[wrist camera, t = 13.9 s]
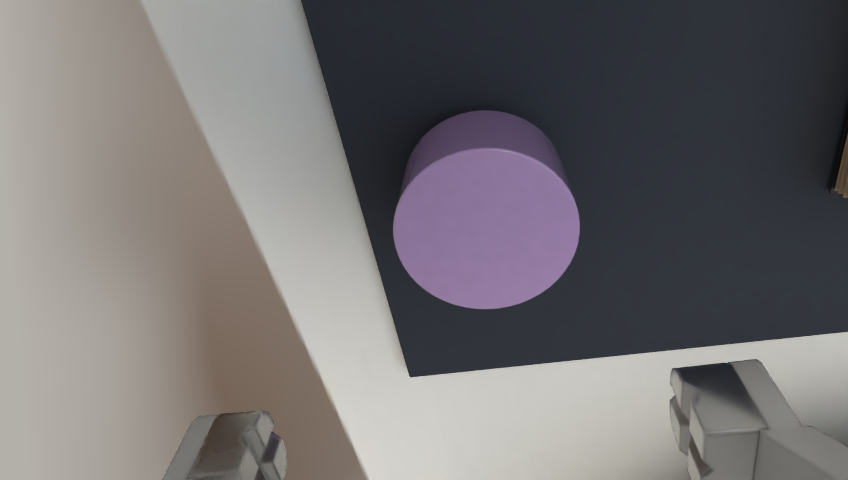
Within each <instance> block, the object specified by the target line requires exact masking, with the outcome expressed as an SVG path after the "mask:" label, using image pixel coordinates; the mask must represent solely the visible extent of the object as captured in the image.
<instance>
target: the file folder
mask: <svg viewBox="0 0 848 480" xmlns="http://www.w3.org/2000/svg"><path fill="white" fill-rule="evenodd" d="M839 193H841V194H844V195H843V198H848V112H847V117H846V121H845V125H844V130H843V134H842V139H841V143H840V147H839V152H838V156H837V160H836V165H835V169H834V174H833V178H832V182H831V187H830V191H829V194H839Z"/></svg>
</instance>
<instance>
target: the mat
mask: <svg viewBox="0 0 848 480" xmlns="http://www.w3.org/2000/svg"><path fill="white" fill-rule="evenodd" d="M301 1H302V5H303V8H304V12H305V15H306V19H307V22H308V26H309V29H310V32H311V36H312V39H313V43H314V46H315V50H316V53H317V57H318V60H319V64H320V67H321V71H322V74H323V78H324V81H325V85H326V88H327V91H328V95H329V98H330V102H331V105H332V109H333V112H334V116H335V119H336V123H337V126H338V130H339V133H340V137H341V140H342V144H343V147H344V150H345V154H346V157H347V161H348V164H349V168H350V171H351V175H352V178H353V182H354V185H355V189H356V192H357V196H358V199H359V202H360V206H361V209H362V213H363V216H364V220H365V223H366V227H367V230H368V234H369V237H370V241H371V244H372V248H373V251H374V255H375V258H376V261H377V265H378V268H379V272H380V275H381V279H382V282H383V286H384V289H385V293H386V296H387V300H388V303H389V307H390V310H391V314H392V317H393V320H394V324H395V327H396V331H397V334H398V338H399V341H400V345H401V348H402V352H403V355H404V359H405V362H406V366H407V369H408V373H409V376H410V377H417V376H427V375H437V374H446V373H456V372H465V371H475V370H485V369H494V368H504V367H513V366H523V365H533V364H542V363H552V362H561V361H571V360H581V359H590V358H600V357H609V356H619V355H629V354H638V353H648V352H657V351H667V350H676V349H686V348H696V347H705V346H715V345H724V344H734V343H744V342H753V341H763V340H772V339H782V338H792V337H801V336H811V335H820V334H830V333H840V332H848V198H843V195H844V194H841V193H839V194H829V191H830V187H831V182H832V178H833V174H834V169H835V165H836V160H837V156H838V152H839V147H840V143H841V139H842V134H843V130H844V125H845V121H846V117H847V112H848V0H301ZM480 110H490V111H499V112H505V113H509V114H512V115H515V116H518V117H520V118H523V119H525V120H527V121H528V122H530V123H532V124H533V125H535V126H536V127H537V128H538V129H540V130H541V131H542V132H543V133H544V134H545V135H546V136H547V137H548V138H549V139H550V141H551V142H552V144H553V145H554V146H555V148H556V150H557V152H558V154H559V156H560V158H561V161H562V164H563V167H564V170H565V173H566V176H567V179H568V182H569V185H570V187H571V190H572V193H573V196H574V199H575V202H576V205H577V208H578V212H579V219H580V235H579V242H578V245H577V248H576V252H575V254H574V256H573V258H572V261H571V263H570V264H569V266H568V267H567V269H566V270H565V272H564V273H563V274H562V275H561V276H560V278H559V279H558V280H557V281H556V282H555V283H554V284H553V285H551V286H550V287H549V288H548V289H546V290H545V291H544V292H542V293H541V294H539V295H537V296H535V297H533V298H532V299H530V300H527V301H525V302H522V303H520V304H516V305H513V306H509V307H504V308H497V309H473V308H466V307H462V306H458V305H454V304H451V303H448V302H446V301H443V300H441V299H439V298H437V297H435V296H433V295H432V294H430V293H429V292H427V291H426V290H424V289H423V288H422V287H421V286H420V285H419V284H417V283H416V282H415V280H414V279H413V278H412V277H411V276H410V275H409V273H408V272H407V271H406V269H405V268H404V266H403V264H402V262H401V260H400V259H399V256H398V253H397V251H396V248H395V243H394V237H393V223H394V215H395V211H396V206H397V202H398V198H399V194H400V189H401V185H402V181H403V177H404V172H405V169H406V165H407V162H408V159H409V157H410V155H411V153H412V151H413V149H414V148H415V146H416V145H417V143H418V142H419V141H420V140H421V138H422V137H423V136H424V135H425V134H426V133H427V132H428V131H430V130H431V129H432V128H433V127H435V126H436V125H438V124H439V123H441V122H443V121H445V120H446V119H448V118H451V117H453V116H456V115H459V114H462V113H467V112H471V111H480Z"/></svg>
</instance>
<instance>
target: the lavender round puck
mask: <svg viewBox="0 0 848 480" xmlns="http://www.w3.org/2000/svg"><path fill="white" fill-rule="evenodd" d="M579 235H580V219H579V212H578V208H577V205H576V202H575V199H574V196H573V193H572V190H571V187H570V185H569V182H568V179H567V176H566V173H565V170H564V167H563V164H562V161H561V158H560V156H559V154H558V152H557V150H556V148H555V146H554V145H553V144H552V142H551V141H550V139H549V138H548V137H547V136H546V135H545V134H544V133H543V132H542V131H541V130H540V129H538V128H537V127H536V126H535V125H533V124H532V123H530V122H528V121H527V120H525V119H523V118H520V117H518V116H515V115H512V114H509V113H505V112H499V111H490V110H480V111H471V112H467V113H462V114H459V115H456V116H453V117H451V118H448V119H446V120H445V121H443V122H441V123H439V124H438V125H436V126H435V127H433V128H432V129H431V130H430V131H428V132H427V133H426V134H425V135H424V136H423V137H422V138H421V140H420V141H419V142H418V143H417V145H416V146H415V148H414V149H413V151H412V153H411V155H410V157H409V159H408V162H407V165H406V169H405V172H404V177H403V181H402V185H401V189H400V194H399V198H398V202H397V206H396V211H395V215H394V223H393V237H394V243H395V248H396V251H397V253H398V256H399V259H400V260H401V262H402V264H403V266H404V268H405V269H406V271H407V272H408V273H409V275H410V276H411V277H412V278H413V279H414V280H415V282H416V283H417V284H419V285H420V286H421V287H422V288H423V289H424V290H426V291H427V292H429V293H430V294H432V295H433V296H435V297H437V298H439V299H441V300H443V301H446V302H448V303H451V304H454V305H458V306H462V307H466V308H473V309H497V308H504V307H509V306H513V305H516V304H520V303H522V302H525V301H527V300H530V299H532V298H533V297H535V296H537V295H539V294H541V293H542V292H544V291H545V290H546V289H548V288H549V287H550V286H551V285H553V284H554V283H555V282H556V281H557V280H558V279H559V278H560V276H561V275H562V274H563V273H564V272H565V270H566V269H567V267H568V266H569V264H570V263H571V261H572V258H573V256H574V254H575V252H576V248H577V245H578V242H579Z"/></svg>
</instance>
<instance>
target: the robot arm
mask: <svg viewBox="0 0 848 480" xmlns="http://www.w3.org/2000/svg"><path fill="white" fill-rule="evenodd" d="M670 384H671V387H672V389H673V392H674V394H675V395H674V397H673V398H672V399H671V400H670V417H671V423H672V429H673V432H674V436H675V439H676V442H677V444H678V447H679V450H680V451H681V452H683V453H684V454H685V455H687V456H688V473H689V475H690V478H691V480H848V447H847V446H845V445H843V444H842V443H840V442H838V441H837V440H835V439H833V438H832V437H830V436H828V435H826V434H825V433H823V432H821V431H820V430H818V429H816V428H814V427H813V426H806V427H803V426H802V424H801V423H800V421H799V420H798V418H797V417H796V415H795V413H794V412H793V410H792V409H791V407H790V406H789V404H788V403H787V401H786V400H785V398H784V397H783V395H782V393H781V392H780V390H779V389H778V387H777V386H776V384H775V383H774V381H773V380H772V378H771V376H770V375H769V373H768V372H767V370H766V369H765V367H764V366H763V364H762V363H761V362H760V361H758V360H757V359H753V360H744V361H735V362H728V363H718V364H709V365H700V366H691V367H682V368H673V369H672V371H671V375H670ZM273 424H274V422H273V420H272V418H271V416H270V414H269V412H267V411H253V412H240V413H226V414H220V415H206V416H198V417H197V418H196V419H194V420H193V421H192V423H191V424H190V426H189V428H188V430H187V432H186V434H185V436H184V438H183V440H182V442H181V444H180V446H179V448H178V450H177V452H176V454H175V456H174V458H173V459H172V461H171V463H170V465H169V467H168V469H167V471H166V473H165V475H164V477H163V479H162V480H283V479H284V475H285V472H286V458H287V456H286V450H285V445H284V443H283V441H282V439H281V437H279V436H278V435H277V434H275V433H273V432H272V431H271V430H272V427H273Z"/></svg>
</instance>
